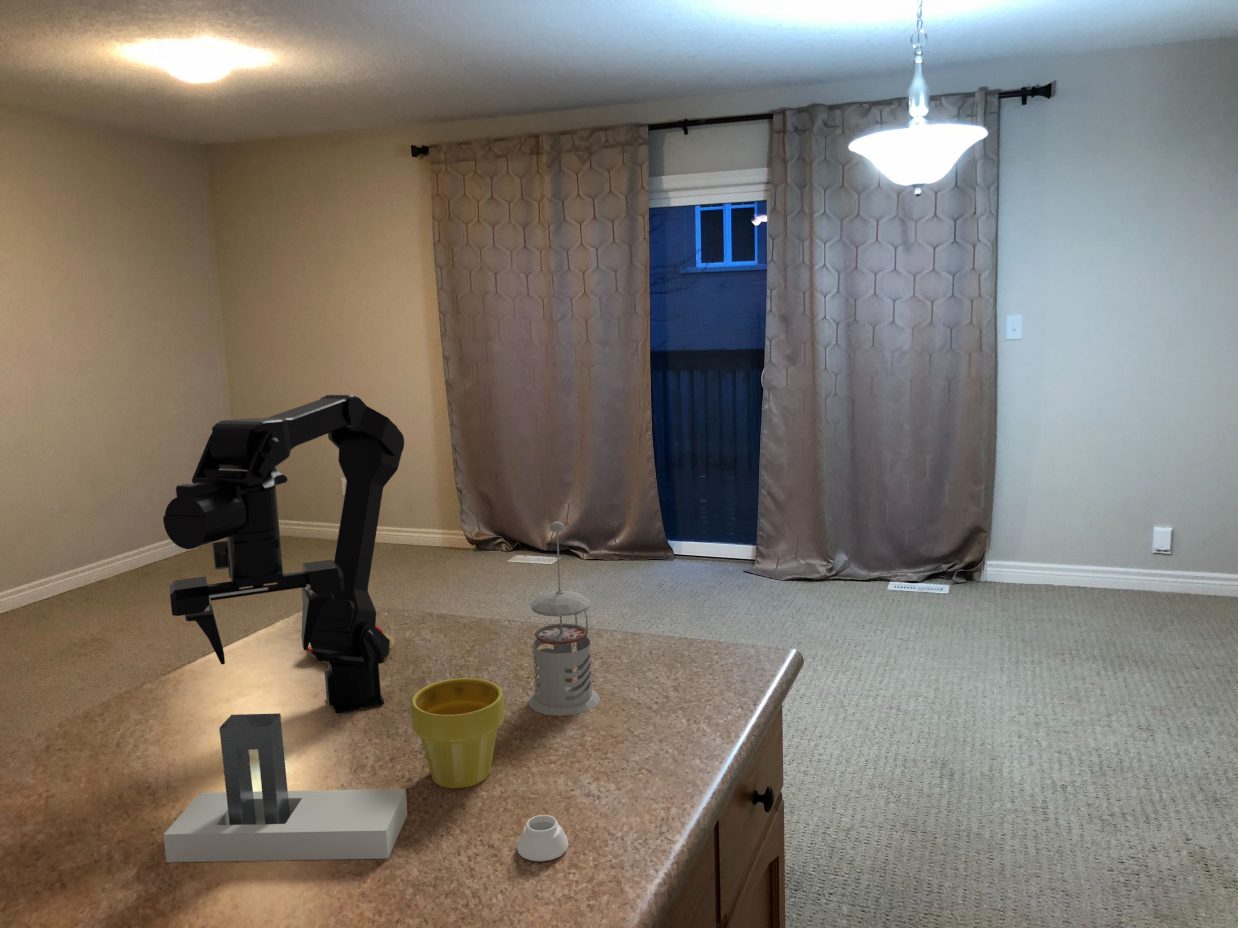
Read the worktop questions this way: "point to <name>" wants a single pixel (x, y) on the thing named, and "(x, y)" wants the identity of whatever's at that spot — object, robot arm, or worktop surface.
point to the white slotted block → (291, 828)
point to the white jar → (542, 839)
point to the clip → (235, 745)
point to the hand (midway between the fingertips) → (264, 655)
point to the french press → (562, 654)
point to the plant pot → (458, 728)
